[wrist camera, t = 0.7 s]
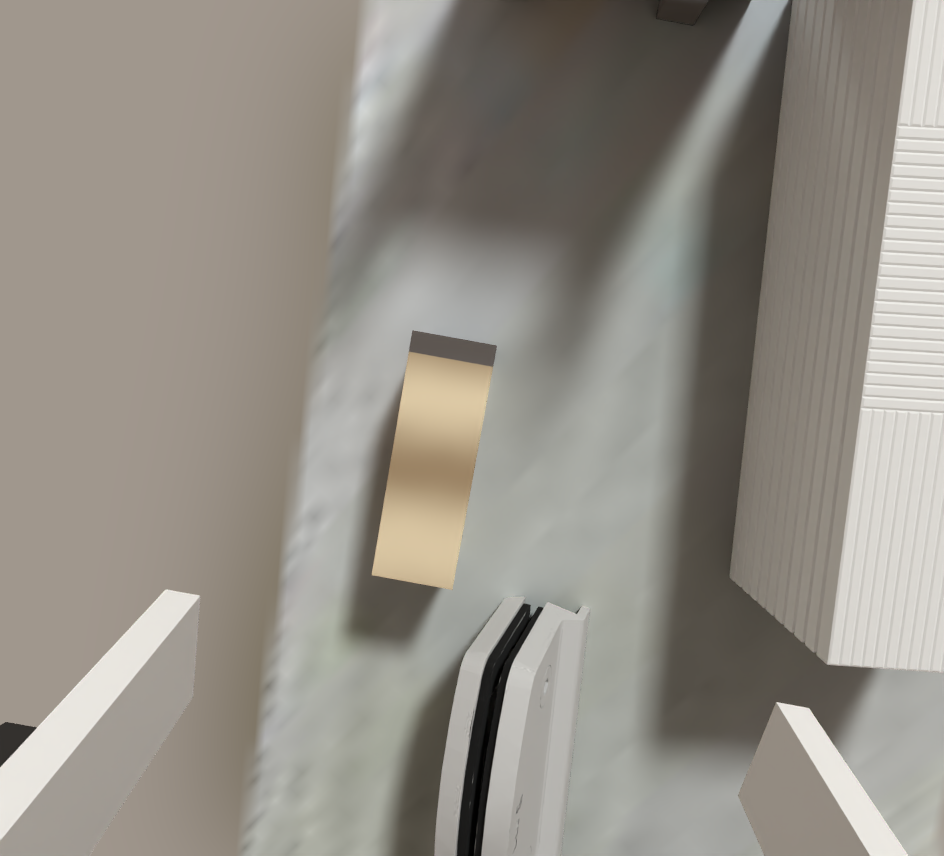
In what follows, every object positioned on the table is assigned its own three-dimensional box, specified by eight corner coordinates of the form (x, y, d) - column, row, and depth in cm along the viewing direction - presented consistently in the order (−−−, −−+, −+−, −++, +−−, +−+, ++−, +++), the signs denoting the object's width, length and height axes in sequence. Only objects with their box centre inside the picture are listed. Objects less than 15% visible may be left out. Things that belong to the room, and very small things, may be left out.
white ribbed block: (791, -10, 33) (937, -187, 22) (995, 1, 33) (1241, -173, 22) (727, 575, 37) (827, 665, 26) (912, 588, 36) (1089, 683, 26)
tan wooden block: (457, 551, 36) (452, 589, 30) (390, 539, 36) (371, 575, 31) (494, 348, 35) (497, 345, 29) (425, 335, 35) (412, 330, 29)
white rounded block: (560, 862, 38) (511, 1016, 29) (487, 835, 40) (420, 972, 31) (591, 601, 37) (549, 677, 27) (514, 584, 38) (450, 650, 29)
